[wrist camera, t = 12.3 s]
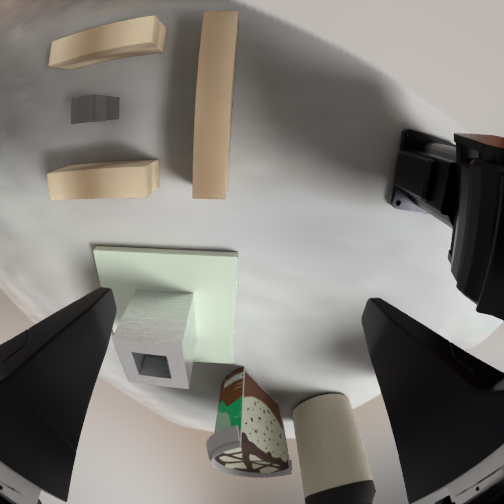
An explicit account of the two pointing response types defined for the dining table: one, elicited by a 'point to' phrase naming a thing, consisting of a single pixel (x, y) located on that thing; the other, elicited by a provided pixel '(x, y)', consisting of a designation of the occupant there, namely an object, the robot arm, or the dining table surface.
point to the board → (179, 289)
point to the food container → (248, 430)
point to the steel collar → (158, 338)
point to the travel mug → (331, 452)
